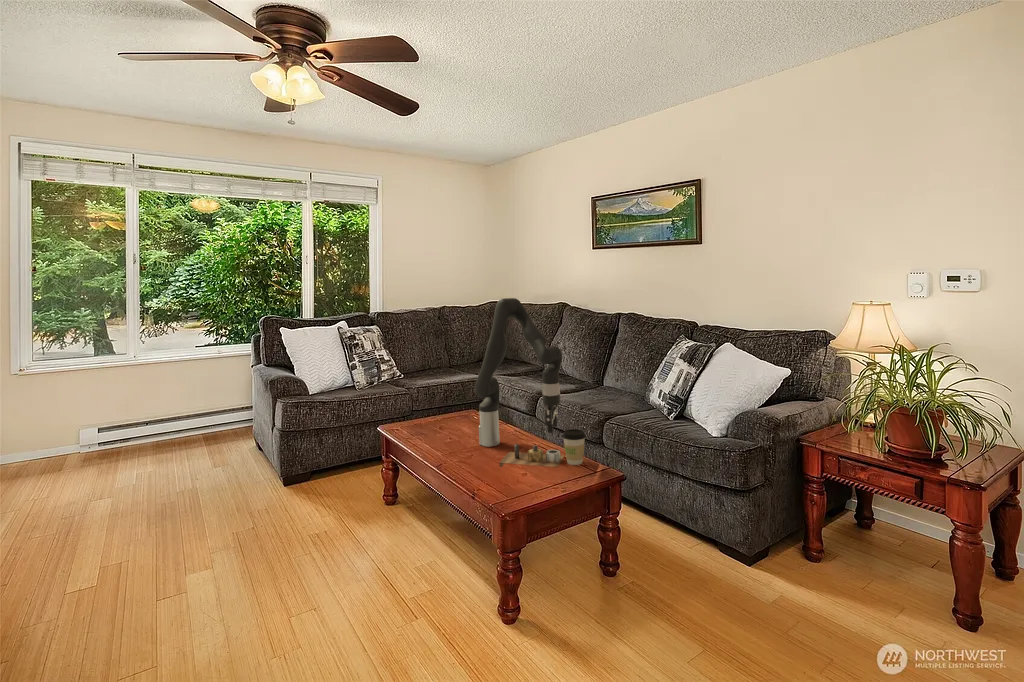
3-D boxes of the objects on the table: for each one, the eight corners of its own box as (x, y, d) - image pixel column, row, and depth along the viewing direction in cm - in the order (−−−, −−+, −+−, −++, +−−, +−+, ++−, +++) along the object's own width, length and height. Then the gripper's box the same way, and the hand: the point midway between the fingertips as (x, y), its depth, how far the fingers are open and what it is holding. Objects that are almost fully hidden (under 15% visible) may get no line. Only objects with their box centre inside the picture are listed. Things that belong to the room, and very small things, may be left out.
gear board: (499, 465, 231) (498, 449, 230) (509, 454, 244) (508, 439, 243) (557, 470, 223) (557, 453, 222) (564, 458, 236) (564, 442, 235)
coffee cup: (561, 462, 232) (560, 429, 230) (583, 460, 233) (582, 427, 231) (565, 470, 223) (564, 436, 221) (588, 469, 224) (587, 434, 221)
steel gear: (545, 462, 229) (545, 453, 228) (548, 457, 234) (548, 449, 234) (558, 463, 227) (557, 454, 227) (560, 458, 232) (560, 450, 232)
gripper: (546, 389, 234) (547, 424, 237) (538, 396, 221) (540, 434, 223) (563, 389, 232) (564, 425, 234) (556, 397, 219) (557, 435, 221)
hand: (552, 429), depth 229 cm, fingers open, 8 cm apart
